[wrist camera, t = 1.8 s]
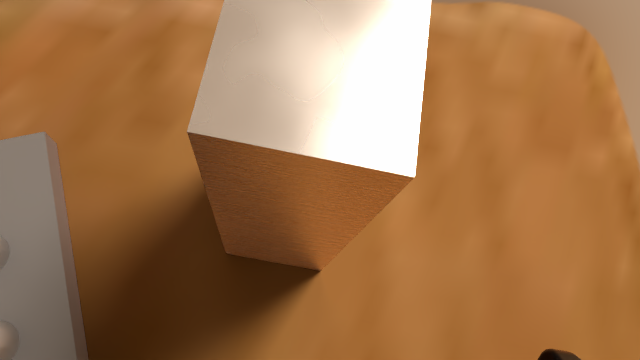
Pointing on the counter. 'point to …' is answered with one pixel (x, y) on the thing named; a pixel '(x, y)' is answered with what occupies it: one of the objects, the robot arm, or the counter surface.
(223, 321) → the counter surface
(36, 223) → the pin tray
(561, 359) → the robot arm
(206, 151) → the white tall rectangular block
